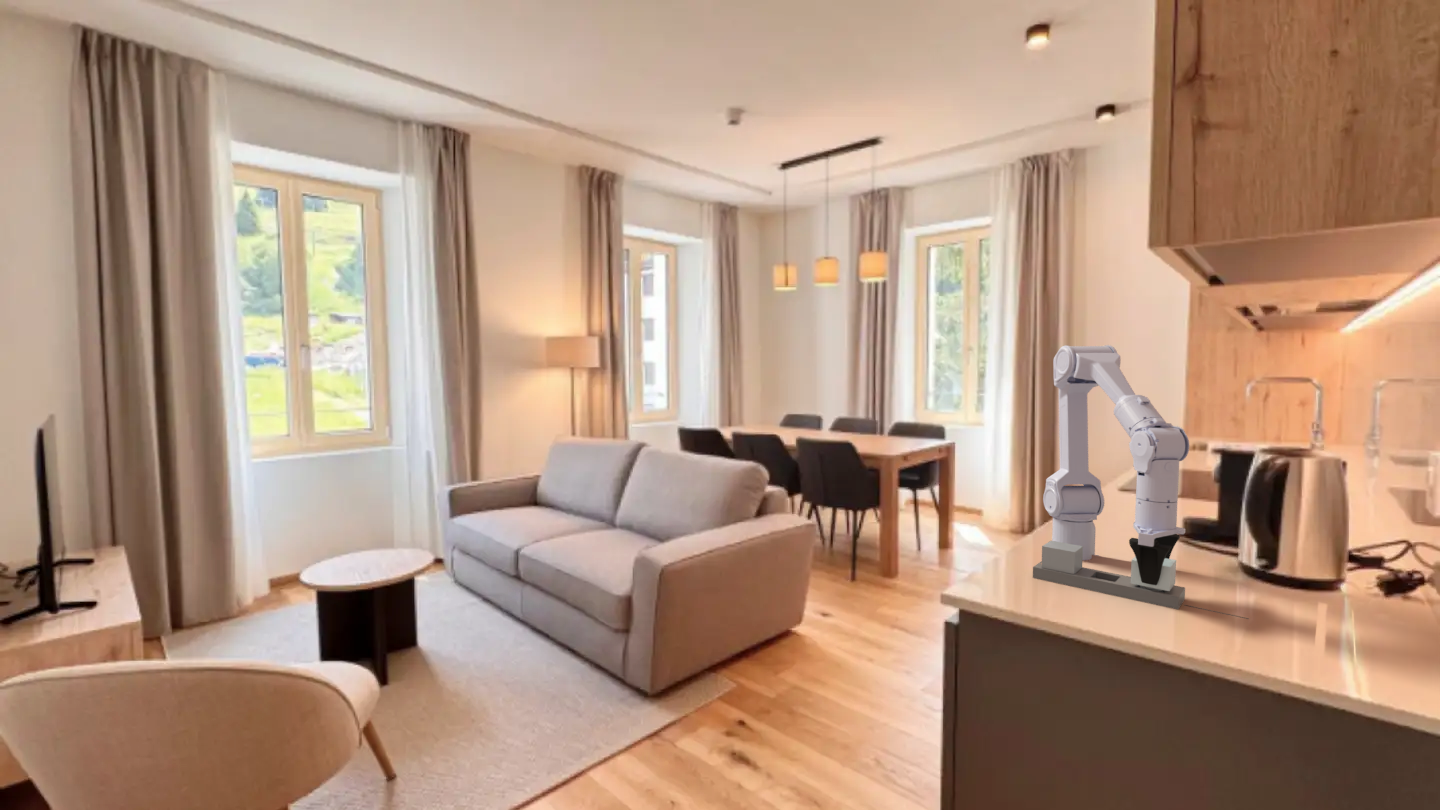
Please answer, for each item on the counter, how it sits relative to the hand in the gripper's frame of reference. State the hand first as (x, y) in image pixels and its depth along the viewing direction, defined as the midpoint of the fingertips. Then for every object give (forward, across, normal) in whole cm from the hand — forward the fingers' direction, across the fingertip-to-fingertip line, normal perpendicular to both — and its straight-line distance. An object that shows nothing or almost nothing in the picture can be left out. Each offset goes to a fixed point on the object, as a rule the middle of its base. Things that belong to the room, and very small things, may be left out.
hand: (1153, 579), depth 107 cm
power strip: (+4, 0, +3) cm, 5 cm away
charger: (+3, 0, 0) cm, 3 cm away
